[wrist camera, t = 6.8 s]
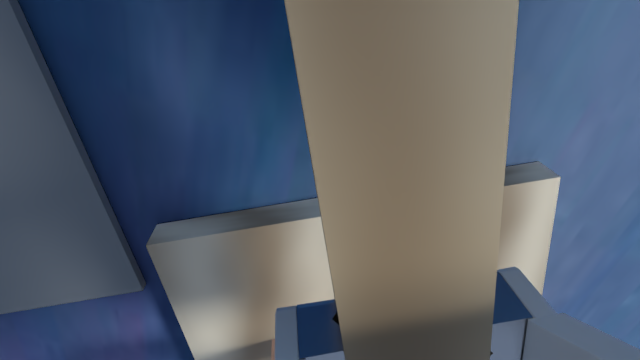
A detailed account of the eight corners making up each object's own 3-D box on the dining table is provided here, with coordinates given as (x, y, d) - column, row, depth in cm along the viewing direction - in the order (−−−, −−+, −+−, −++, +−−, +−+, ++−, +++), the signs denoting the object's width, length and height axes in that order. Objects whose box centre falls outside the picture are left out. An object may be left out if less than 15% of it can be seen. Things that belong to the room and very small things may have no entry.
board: (538, 161, 22) (560, 177, 21) (506, 415, 33) (519, 439, 32) (156, 224, 22) (145, 245, 20) (250, 458, 33) (248, 485, 31)
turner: (538, -404, 6) (779, -763, 3) (479, 429, 15) (523, 528, 12) (116, -342, 5) (-42, -654, 3) (320, 458, 15) (329, 564, 12)
